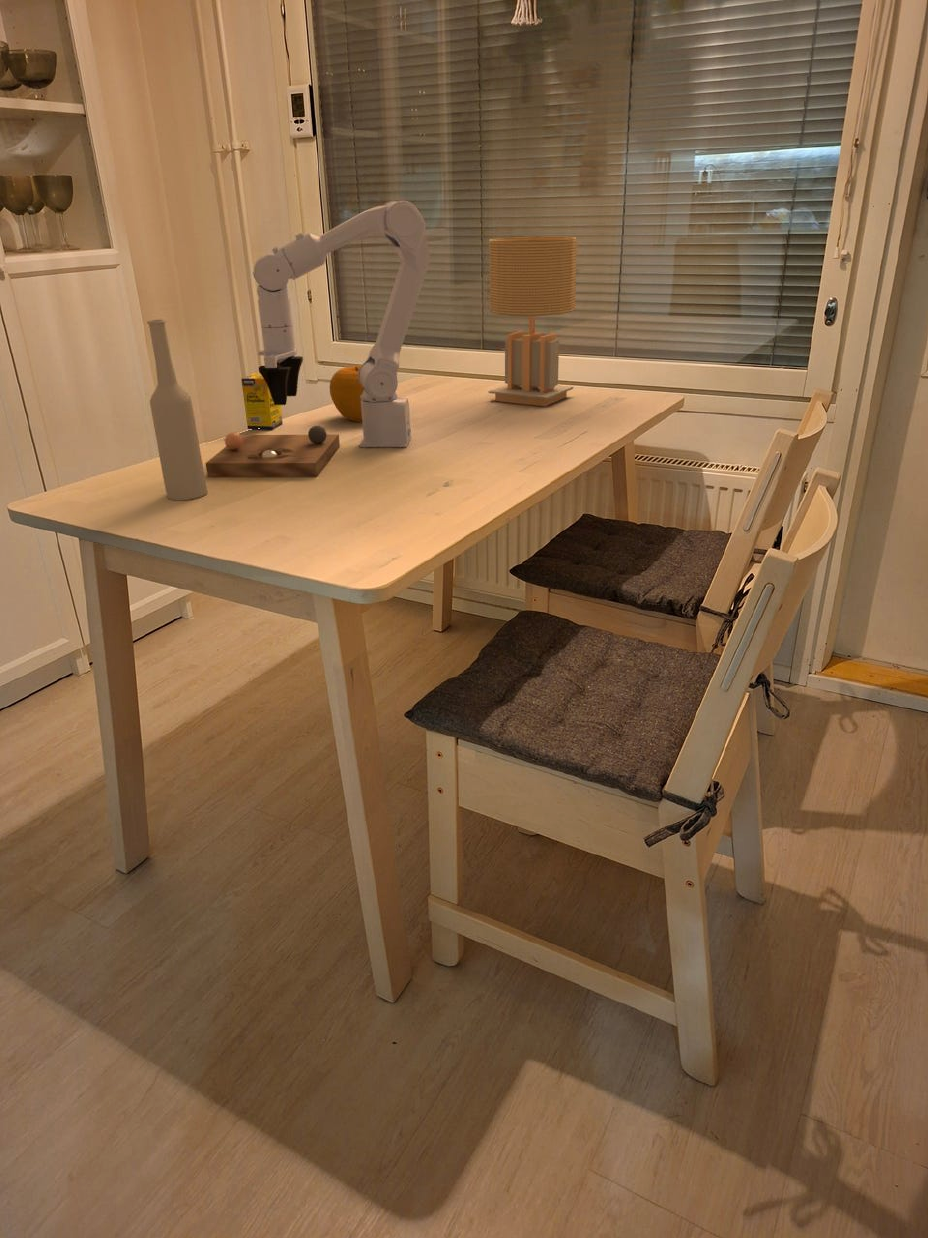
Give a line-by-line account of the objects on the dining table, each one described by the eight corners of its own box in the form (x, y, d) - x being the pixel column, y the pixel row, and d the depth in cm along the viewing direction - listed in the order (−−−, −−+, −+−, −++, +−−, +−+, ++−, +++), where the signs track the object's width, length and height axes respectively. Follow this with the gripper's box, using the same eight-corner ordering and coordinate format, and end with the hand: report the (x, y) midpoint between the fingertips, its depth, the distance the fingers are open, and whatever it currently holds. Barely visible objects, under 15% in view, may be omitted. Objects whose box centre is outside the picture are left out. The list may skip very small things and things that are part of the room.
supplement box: (273, 430, 181) (266, 378, 176) (247, 429, 182) (240, 378, 177) (283, 423, 186) (277, 373, 181) (258, 423, 187) (251, 372, 182)
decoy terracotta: (245, 447, 159) (243, 430, 158) (240, 451, 156) (238, 434, 155) (229, 447, 159) (226, 430, 158) (223, 451, 156) (221, 434, 155)
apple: (321, 423, 186) (316, 370, 180) (350, 410, 196) (346, 359, 191) (373, 427, 181) (369, 372, 176) (399, 413, 192) (397, 362, 187)
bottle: (185, 503, 138) (153, 324, 125) (158, 497, 141) (124, 321, 129) (215, 491, 143) (187, 318, 130) (189, 486, 146) (159, 316, 134)
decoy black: (328, 441, 162) (327, 423, 160) (325, 445, 159) (323, 428, 157) (311, 441, 162) (309, 423, 160) (307, 446, 159) (305, 428, 157)
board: (339, 446, 167) (338, 434, 166) (317, 476, 150) (315, 462, 148) (241, 447, 169) (240, 434, 168) (207, 476, 151) (205, 463, 150)
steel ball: (278, 471, 155) (281, 460, 157) (274, 456, 153) (278, 446, 155) (261, 470, 155) (265, 460, 157) (257, 456, 153) (261, 446, 155)
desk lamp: (585, 394, 205) (591, 236, 190) (548, 411, 191) (552, 241, 175) (515, 387, 215) (516, 236, 199) (475, 402, 200) (472, 240, 184)
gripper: (266, 320, 162) (275, 392, 168) (243, 331, 149) (254, 408, 155) (302, 320, 161) (310, 392, 167) (282, 331, 148) (291, 408, 154)
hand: (285, 400), depth 161 cm, fingers open, 7 cm apart
